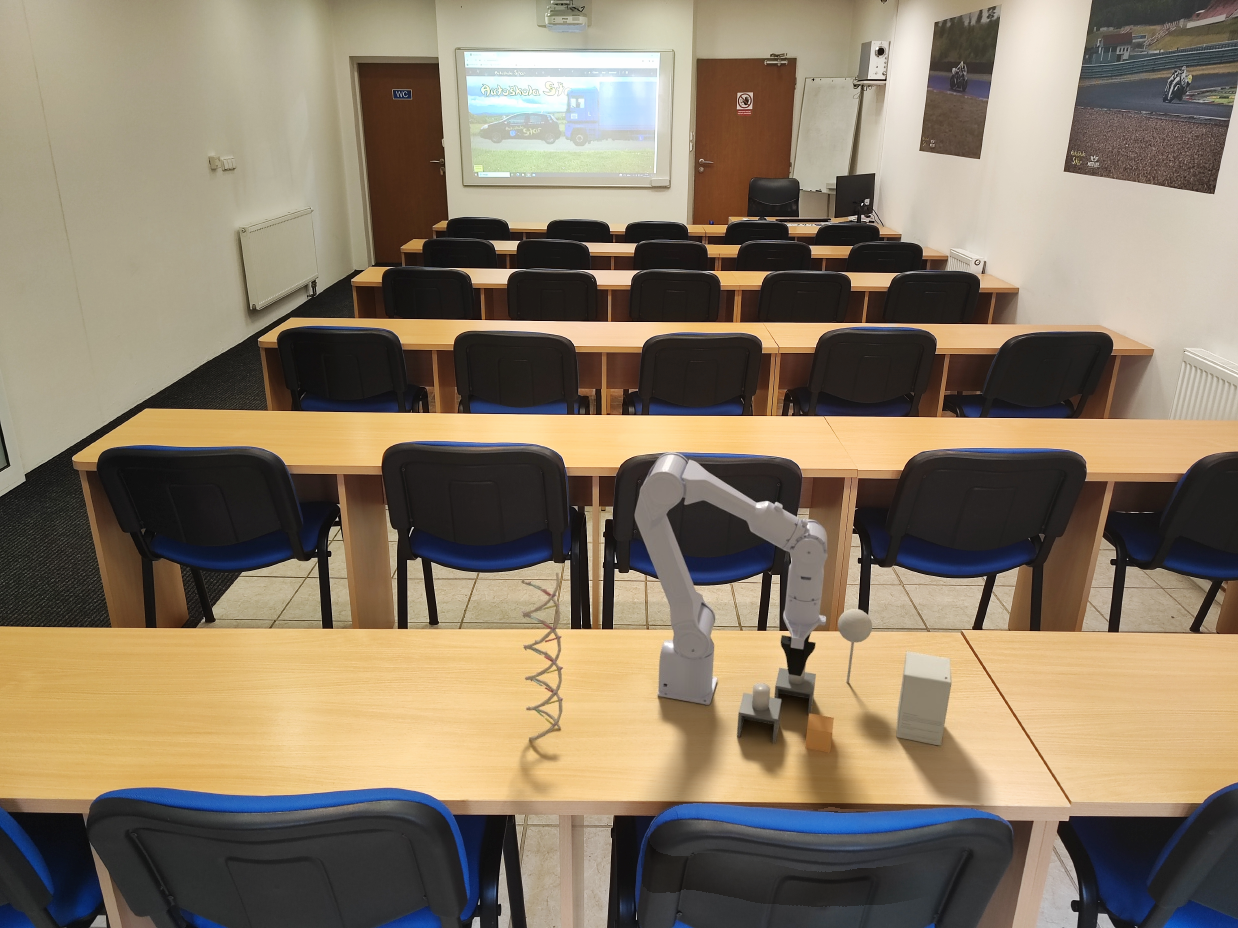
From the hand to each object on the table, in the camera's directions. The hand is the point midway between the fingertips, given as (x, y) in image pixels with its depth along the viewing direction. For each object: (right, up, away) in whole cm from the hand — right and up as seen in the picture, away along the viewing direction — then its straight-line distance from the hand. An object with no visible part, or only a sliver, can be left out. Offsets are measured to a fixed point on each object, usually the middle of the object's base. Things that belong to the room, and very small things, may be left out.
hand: (797, 661), depth 152 cm
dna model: (-43, -11, -5) cm, 45 cm away
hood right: (0, -8, +3) cm, 9 cm away
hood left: (-7, -11, -4) cm, 13 cm away
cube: (+2, -12, -6) cm, 14 cm away
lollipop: (+11, -6, +9) cm, 16 cm away
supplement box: (+20, -11, -3) cm, 23 cm away
